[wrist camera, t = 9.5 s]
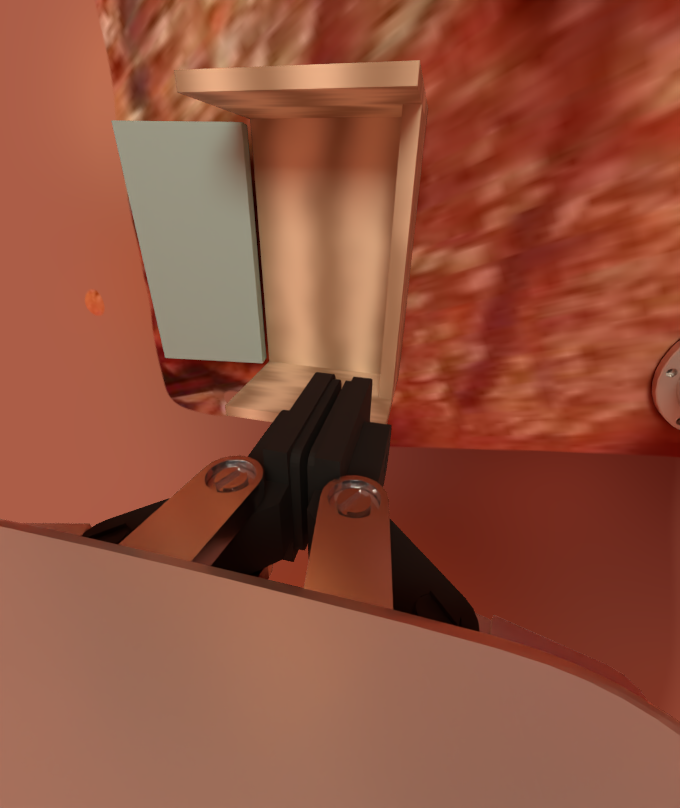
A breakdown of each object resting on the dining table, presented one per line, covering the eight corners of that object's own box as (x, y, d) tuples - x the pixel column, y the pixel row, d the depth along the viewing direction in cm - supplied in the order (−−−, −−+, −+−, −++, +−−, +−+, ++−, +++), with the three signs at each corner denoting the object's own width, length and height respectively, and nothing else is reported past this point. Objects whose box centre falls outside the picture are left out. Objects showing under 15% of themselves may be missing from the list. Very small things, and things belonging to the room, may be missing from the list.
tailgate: (241, 122, 30) (111, 120, 30) (262, 363, 40) (165, 357, 41) (249, 125, 31) (126, 124, 32) (267, 355, 42) (174, 350, 42)
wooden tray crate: (427, 107, 30) (419, 60, 19) (399, 373, 42) (383, 438, 31) (263, 110, 33) (173, 70, 22) (279, 359, 44) (226, 415, 33)
